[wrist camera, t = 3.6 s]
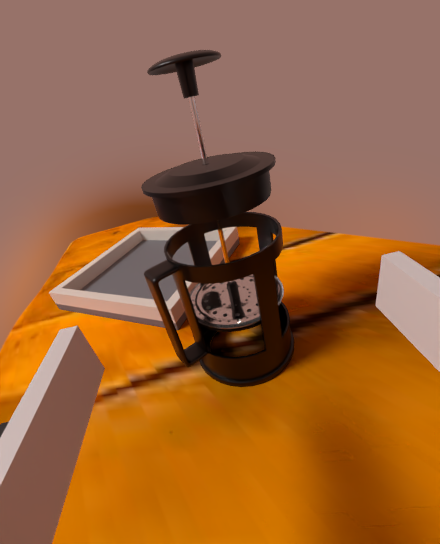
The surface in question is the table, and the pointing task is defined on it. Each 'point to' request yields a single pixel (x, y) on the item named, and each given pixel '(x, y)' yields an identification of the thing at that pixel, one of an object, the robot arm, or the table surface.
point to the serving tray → (135, 277)
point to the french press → (230, 275)
